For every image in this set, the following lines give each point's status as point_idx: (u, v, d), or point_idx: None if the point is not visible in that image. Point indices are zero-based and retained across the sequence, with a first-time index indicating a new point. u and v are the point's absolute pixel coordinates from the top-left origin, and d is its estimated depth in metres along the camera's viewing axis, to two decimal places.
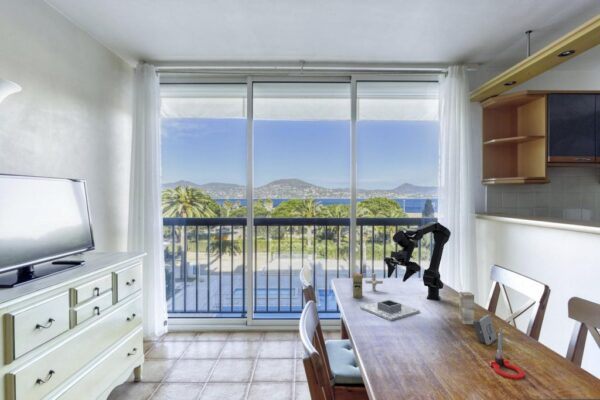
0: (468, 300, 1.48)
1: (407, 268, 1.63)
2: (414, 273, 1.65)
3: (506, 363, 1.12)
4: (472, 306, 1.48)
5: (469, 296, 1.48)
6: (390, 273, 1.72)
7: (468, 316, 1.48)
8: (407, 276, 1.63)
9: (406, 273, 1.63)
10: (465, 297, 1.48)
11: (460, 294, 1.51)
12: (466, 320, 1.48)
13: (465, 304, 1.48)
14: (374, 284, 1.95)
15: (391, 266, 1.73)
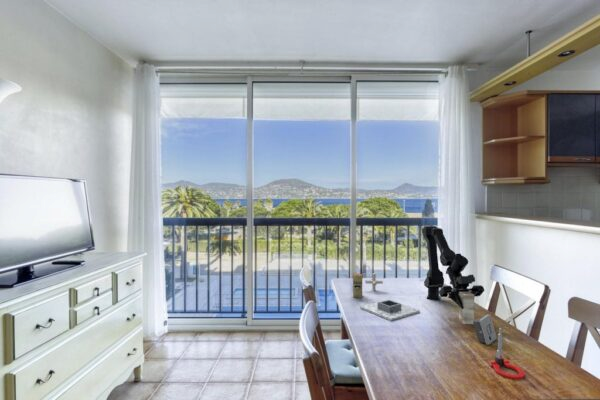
0: (468, 300, 1.48)
1: (473, 293, 1.52)
2: None
3: (506, 363, 1.12)
4: (472, 306, 1.48)
5: (469, 296, 1.48)
6: None
7: (468, 316, 1.48)
8: None
9: None
10: (465, 297, 1.48)
11: (460, 294, 1.51)
12: (466, 320, 1.48)
13: (465, 304, 1.48)
14: (374, 284, 1.95)
15: None
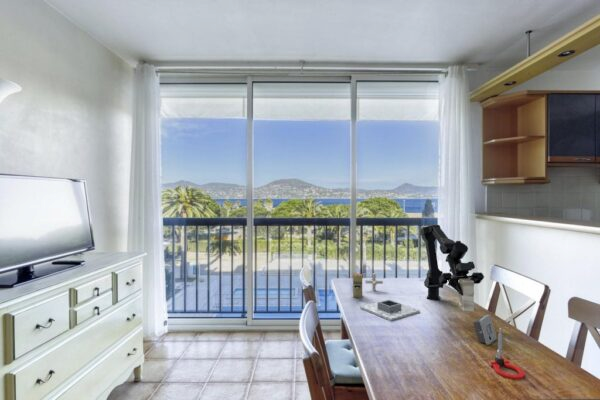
0: (468, 287, 1.48)
1: (473, 279, 1.52)
2: None
3: (506, 363, 1.12)
4: (472, 293, 1.48)
5: (469, 283, 1.48)
6: None
7: (468, 303, 1.48)
8: None
9: None
10: (465, 284, 1.48)
11: (460, 281, 1.51)
12: (465, 307, 1.48)
13: (464, 291, 1.48)
14: (374, 284, 1.95)
15: None
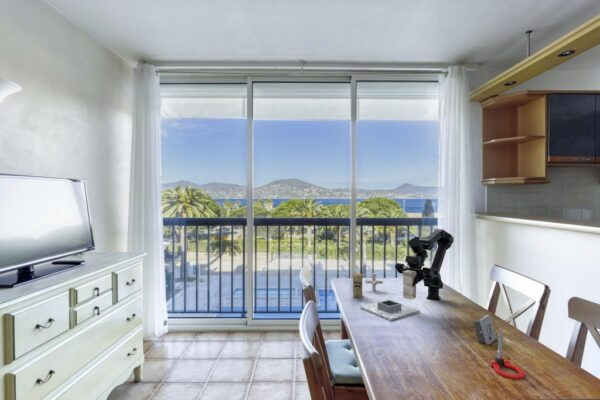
0: (406, 277, 1.65)
1: (418, 273, 1.64)
2: (423, 279, 1.66)
3: (506, 363, 1.12)
4: (410, 283, 1.64)
5: (407, 273, 1.65)
6: None
7: (406, 291, 1.65)
8: (417, 281, 1.64)
9: (416, 277, 1.64)
10: (404, 274, 1.66)
11: None
12: (404, 294, 1.66)
13: (404, 280, 1.66)
14: (374, 284, 1.95)
15: None
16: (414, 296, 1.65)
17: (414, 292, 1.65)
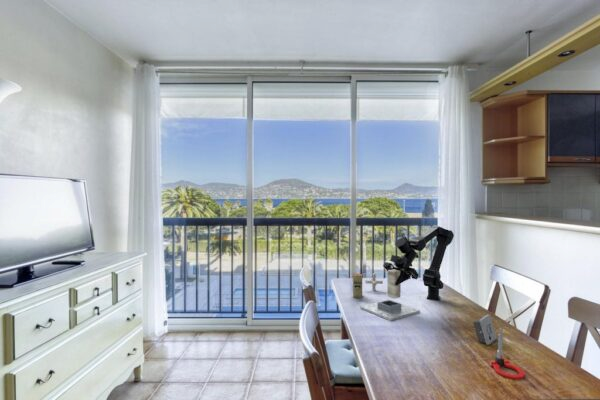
0: (390, 276, 1.67)
1: (401, 272, 1.65)
2: None
3: (506, 363, 1.12)
4: (393, 282, 1.65)
5: (391, 272, 1.67)
6: None
7: (390, 290, 1.67)
8: (400, 280, 1.65)
9: (400, 277, 1.65)
10: (388, 272, 1.68)
11: None
12: (388, 293, 1.68)
13: (388, 279, 1.68)
14: (374, 284, 1.95)
15: None
16: (398, 295, 1.67)
17: (398, 291, 1.67)
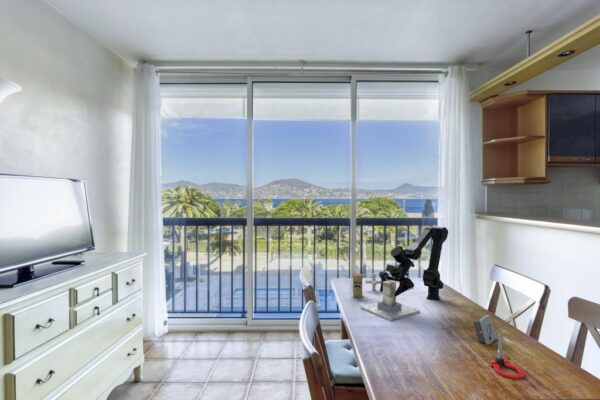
0: (385, 287, 1.65)
1: (400, 283, 1.62)
2: None
3: (506, 363, 1.12)
4: (388, 293, 1.64)
5: (386, 284, 1.65)
6: None
7: (385, 302, 1.65)
8: (399, 291, 1.62)
9: (399, 288, 1.62)
10: (383, 284, 1.66)
11: None
12: None
13: (383, 290, 1.66)
14: (374, 284, 1.95)
15: None
16: None
17: (393, 303, 1.65)
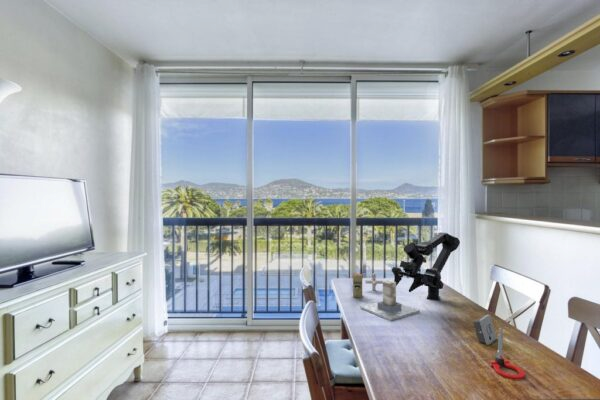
0: (385, 287, 1.65)
1: (415, 279, 1.67)
2: (420, 285, 1.68)
3: (506, 363, 1.12)
4: (388, 293, 1.64)
5: (386, 284, 1.65)
6: (396, 283, 1.75)
7: (385, 302, 1.65)
8: (413, 287, 1.67)
9: (413, 284, 1.67)
10: (383, 284, 1.66)
11: None
12: None
13: (383, 290, 1.66)
14: (374, 284, 1.95)
15: (398, 276, 1.76)
16: None
17: (393, 303, 1.65)
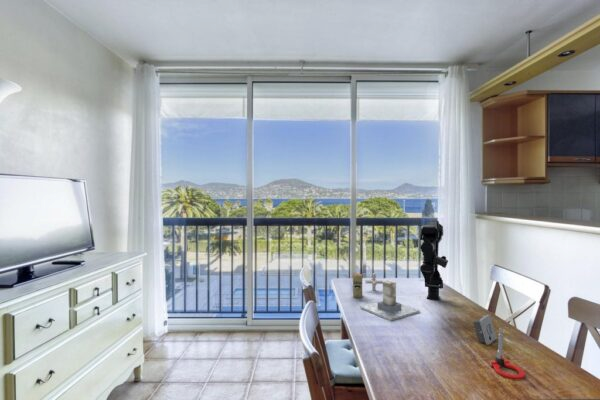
0: (385, 287, 1.65)
1: (435, 268, 1.73)
2: None
3: (506, 363, 1.12)
4: (388, 293, 1.64)
5: (386, 284, 1.65)
6: None
7: (385, 302, 1.65)
8: None
9: None
10: (383, 284, 1.66)
11: None
12: None
13: (383, 290, 1.66)
14: (374, 284, 1.95)
15: None
16: None
17: (393, 303, 1.65)
